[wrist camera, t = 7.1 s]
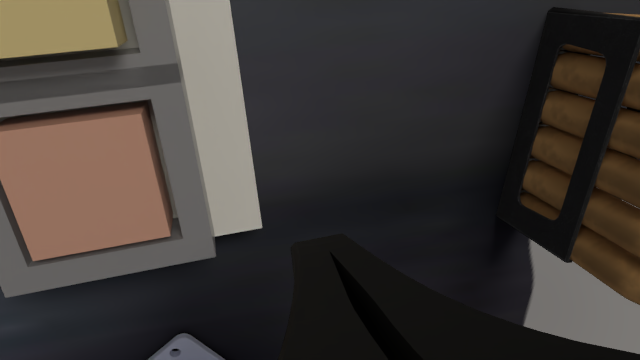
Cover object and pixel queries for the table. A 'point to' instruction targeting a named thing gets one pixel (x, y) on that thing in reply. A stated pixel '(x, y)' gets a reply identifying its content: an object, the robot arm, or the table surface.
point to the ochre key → (59, 26)
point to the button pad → (169, 127)
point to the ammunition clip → (582, 147)
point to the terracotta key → (85, 179)
